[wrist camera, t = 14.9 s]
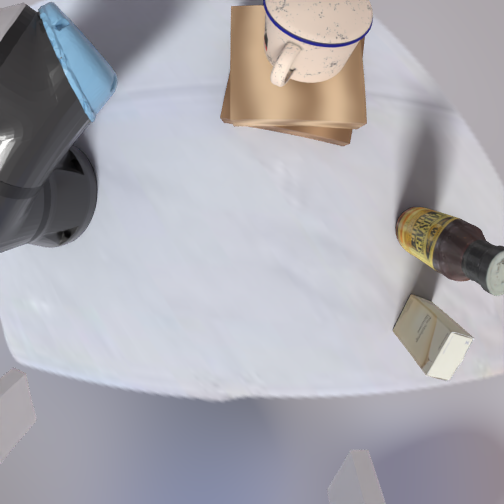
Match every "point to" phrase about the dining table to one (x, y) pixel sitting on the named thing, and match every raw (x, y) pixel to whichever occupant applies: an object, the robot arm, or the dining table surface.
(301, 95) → the tower top block
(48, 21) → the robot arm
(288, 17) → the teacup with lid
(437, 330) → the skincare box
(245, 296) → the dining table surface
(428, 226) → the sauce bottle
